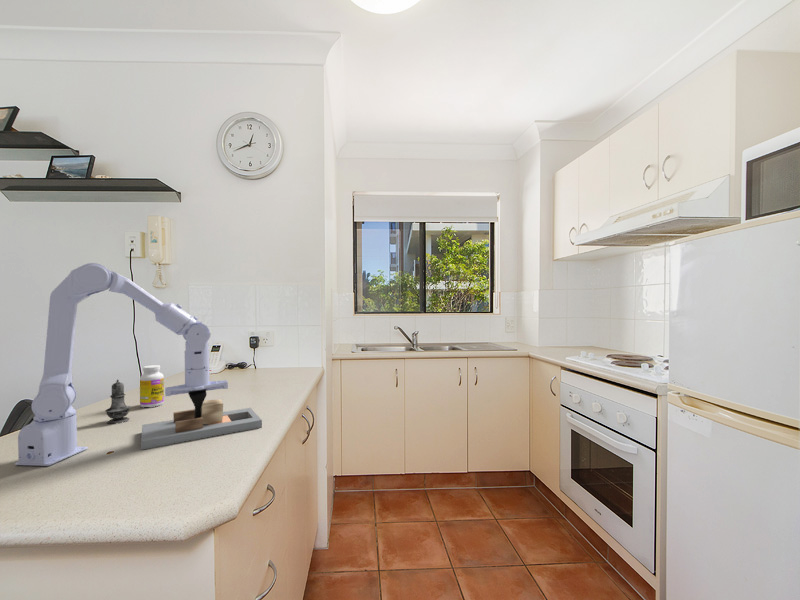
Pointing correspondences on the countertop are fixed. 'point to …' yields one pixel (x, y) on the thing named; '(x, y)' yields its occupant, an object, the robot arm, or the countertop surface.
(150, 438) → the deck
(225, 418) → the tile
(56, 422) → the robot arm
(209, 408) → the block
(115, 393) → the salt shaker
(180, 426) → the channel walls
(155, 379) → the supplement bottle
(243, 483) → the countertop surface
